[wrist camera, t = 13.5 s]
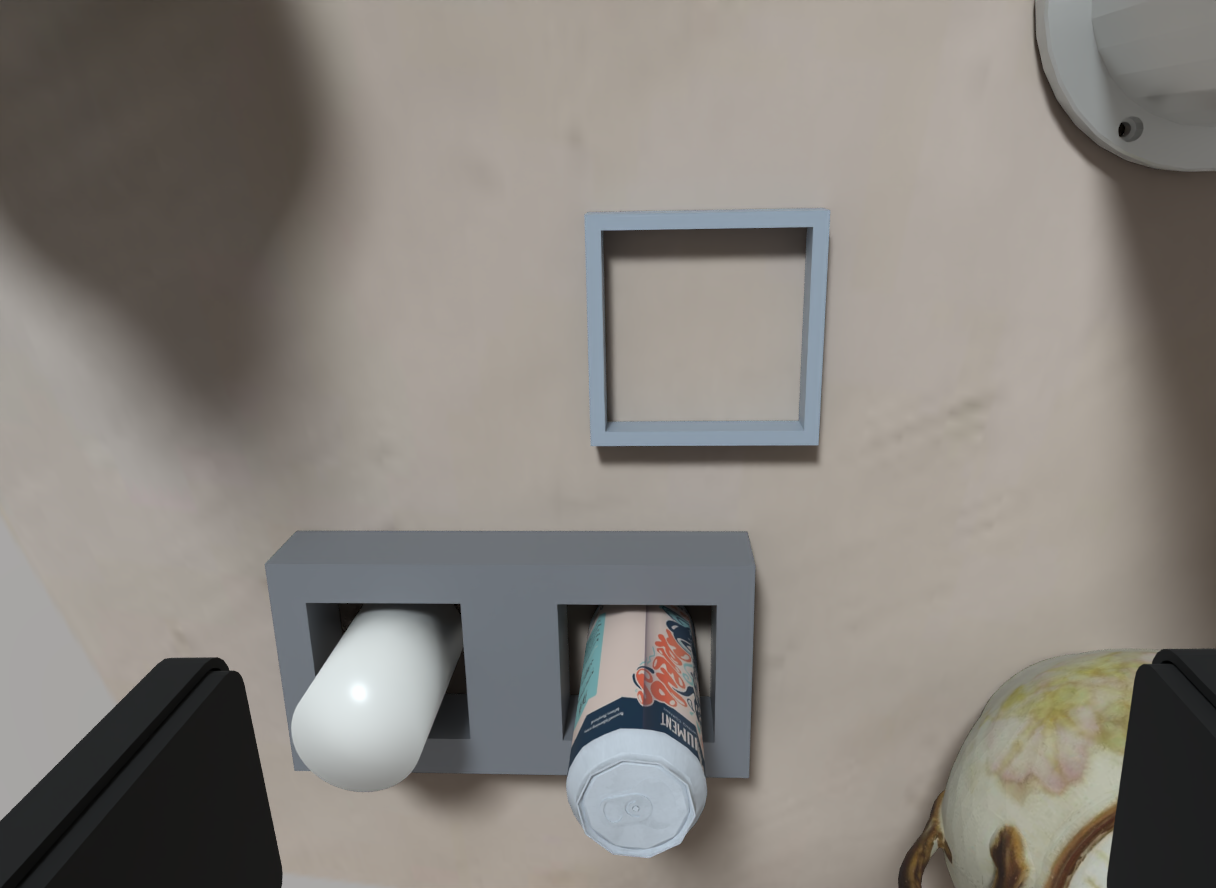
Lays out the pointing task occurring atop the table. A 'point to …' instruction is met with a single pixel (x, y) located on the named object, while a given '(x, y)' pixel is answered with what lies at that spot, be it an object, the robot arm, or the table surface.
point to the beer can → (638, 731)
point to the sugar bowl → (1037, 779)
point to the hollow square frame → (710, 430)
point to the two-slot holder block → (484, 644)
